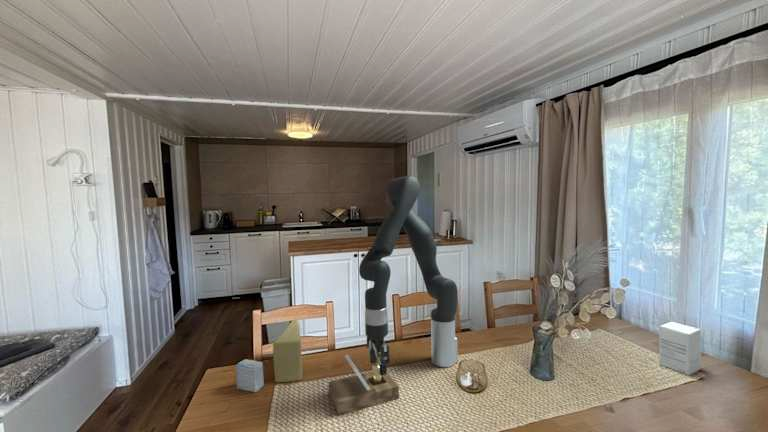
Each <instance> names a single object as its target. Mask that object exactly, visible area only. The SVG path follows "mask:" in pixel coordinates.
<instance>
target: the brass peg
mask: <svg viewBox="0 0 768 432" xmlns="http://www.w3.org/2000/svg"><path fill="white" fill-rule="evenodd" d="M371 369H372V371H371V372H372V374H373V386H376V385H379V384H382V376H381V375H380V372H379V362H378V363H377V362H376V363H372V367H371Z"/></svg>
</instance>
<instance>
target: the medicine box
mask: <svg viewBox="0 0 768 432" xmlns="http://www.w3.org/2000/svg"><path fill="white" fill-rule="evenodd" d="M235 372H236V388H237V389H238V390H242V391H247V392H252V393H256V392H259V390H261V388H263V387H264V386H265V381H264V365H263V361H258V360H254V359H247V358H245V359H243V360H242V361H239V362H238V363H237V364H236V365H235Z"/></svg>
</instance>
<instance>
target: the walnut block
mask: <svg viewBox="0 0 768 432" xmlns="http://www.w3.org/2000/svg"><path fill="white" fill-rule="evenodd" d="M360 374H361V375H362V377H363V378H364V380H365V381H366V383H367V384H368V386H369V387H370V390H369V391H367V389H366V388H365V386H364V385H363V383H362V382H361V380H360V379H359V377H358V376H357V374H355V375H351V376H348V377H343V378H340V379H335V380H331V381H328V395H329V398H330V400H331V402H332V404H333V407H334V410H335V412H336V414H337V416H342V415H345V414H346V415H347V414H349V413H352V412H356V411H360V410H363V409H365V408H366V409H367V408H370V407H374V406H376V405H380V404H384V403H388V402H390V401H394V400H398V399H400V387H399V384H397V382H396V381H395V379H393V377H392V376H391V374H389V372H387V374H386V375H382V384H379V385H376V386H373V374H372V371H369V372H364V373H360Z"/></svg>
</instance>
